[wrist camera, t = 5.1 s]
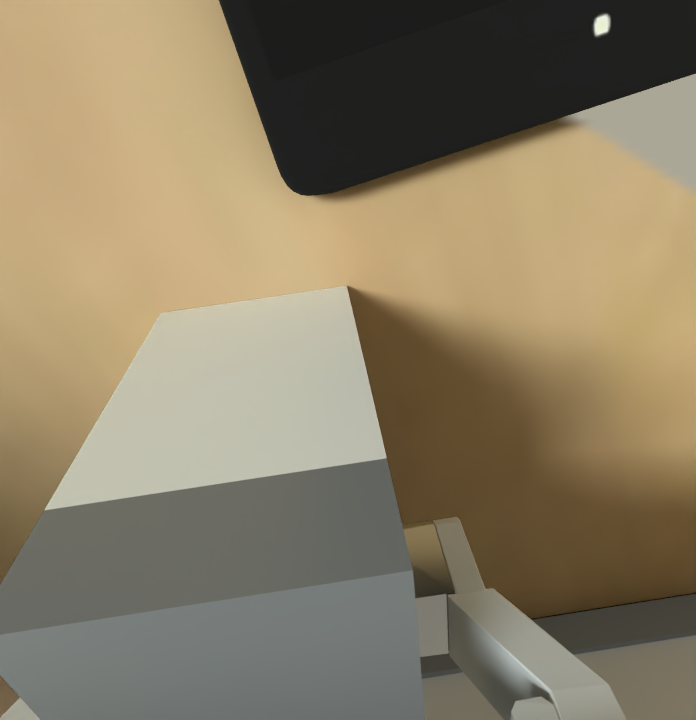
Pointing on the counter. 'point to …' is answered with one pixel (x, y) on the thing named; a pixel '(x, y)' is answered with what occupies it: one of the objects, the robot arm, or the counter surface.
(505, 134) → the cell phone
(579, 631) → the board
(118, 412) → the block
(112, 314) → the counter surface
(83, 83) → the counter surface
